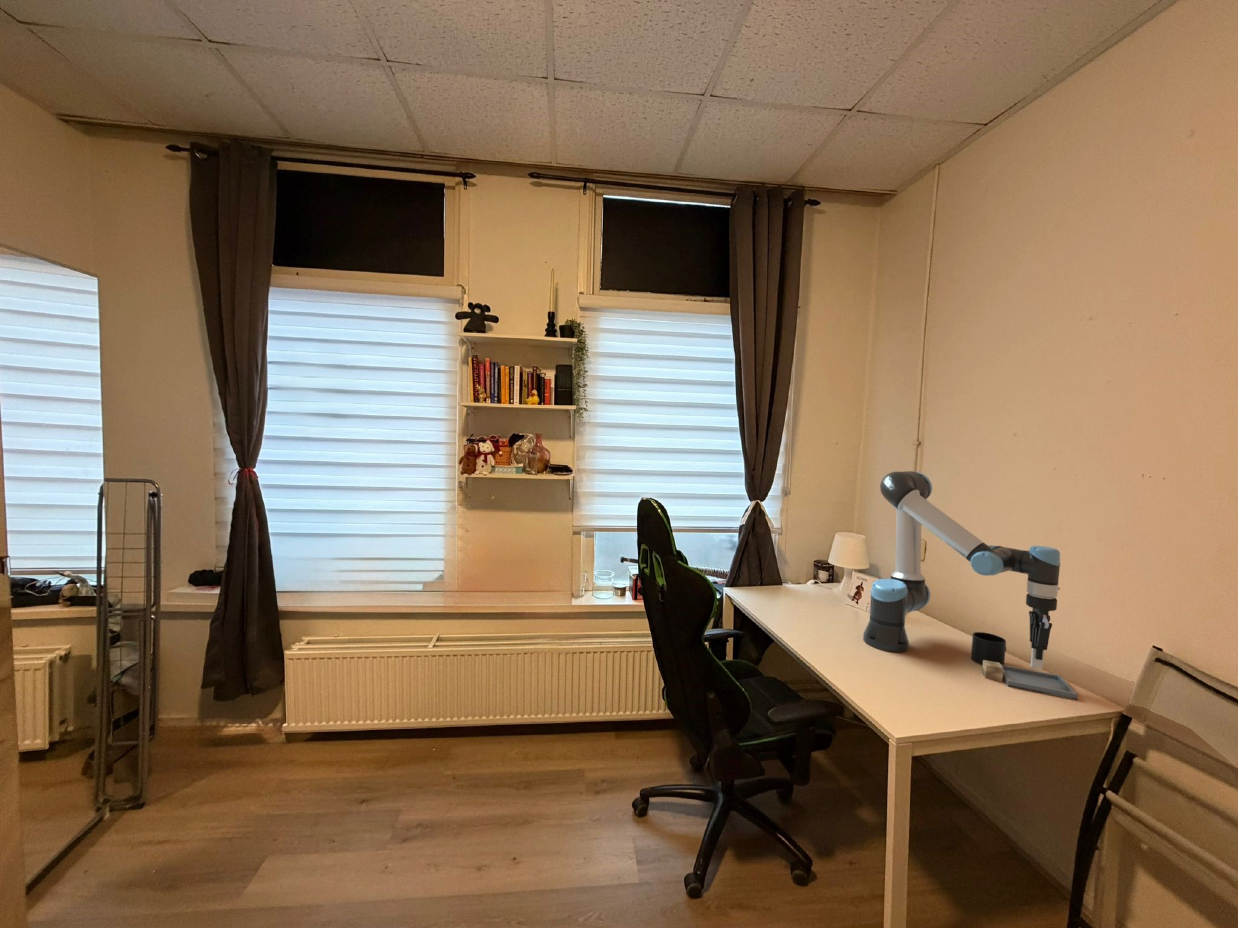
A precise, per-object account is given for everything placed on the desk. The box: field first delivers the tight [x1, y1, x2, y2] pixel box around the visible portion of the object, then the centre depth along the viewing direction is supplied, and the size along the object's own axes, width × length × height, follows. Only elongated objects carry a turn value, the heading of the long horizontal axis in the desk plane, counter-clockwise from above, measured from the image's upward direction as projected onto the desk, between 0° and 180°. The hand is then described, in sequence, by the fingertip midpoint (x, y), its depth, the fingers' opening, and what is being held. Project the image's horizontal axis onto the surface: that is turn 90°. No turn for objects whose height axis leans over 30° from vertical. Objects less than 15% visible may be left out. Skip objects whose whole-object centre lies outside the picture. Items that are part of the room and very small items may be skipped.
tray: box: [1001, 664, 1079, 701], centre depth 161 cm, size 17×14×2 cm
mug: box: [970, 631, 1007, 666], centre depth 176 cm, size 9×12×9 cm
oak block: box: [981, 660, 1003, 683], centre depth 165 cm, size 4×4×4 cm
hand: (1036, 667), depth 161 cm, fingers closed
